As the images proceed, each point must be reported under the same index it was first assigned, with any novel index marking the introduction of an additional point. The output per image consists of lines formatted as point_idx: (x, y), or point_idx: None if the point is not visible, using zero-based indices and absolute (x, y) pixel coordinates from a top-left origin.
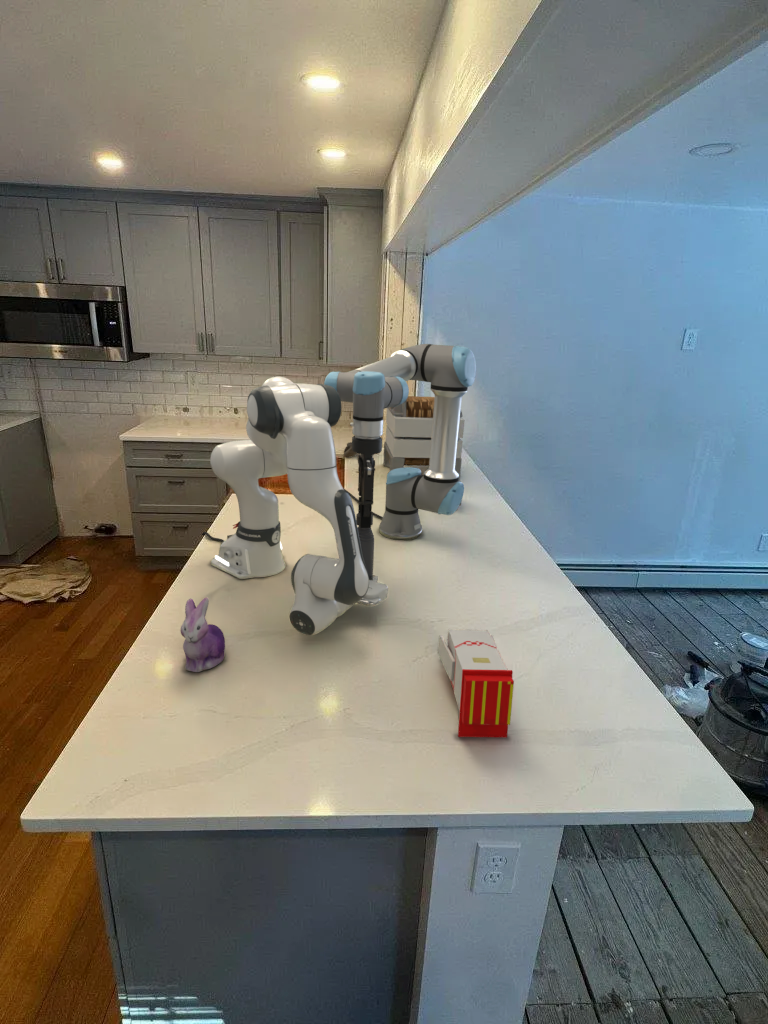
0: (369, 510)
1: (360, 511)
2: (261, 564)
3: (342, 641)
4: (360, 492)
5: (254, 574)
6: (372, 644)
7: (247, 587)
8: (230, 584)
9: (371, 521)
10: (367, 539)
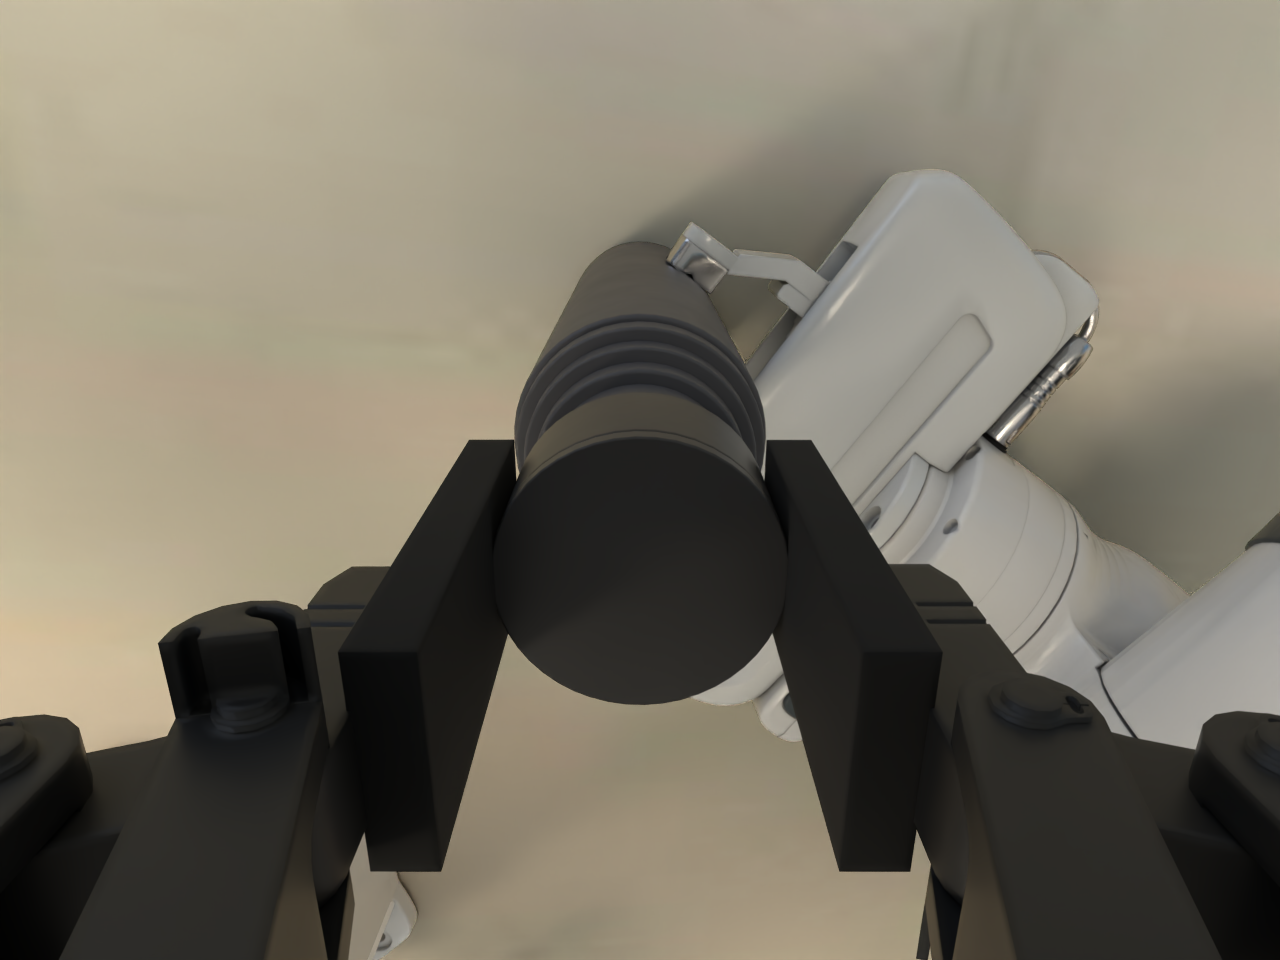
0: (998, 639)
1: (494, 640)
2: (354, 895)
3: (1128, 470)
4: (339, 951)
5: (390, 881)
6: (1208, 313)
7: (503, 886)
8: (471, 951)
9: (733, 444)
10: (759, 422)
